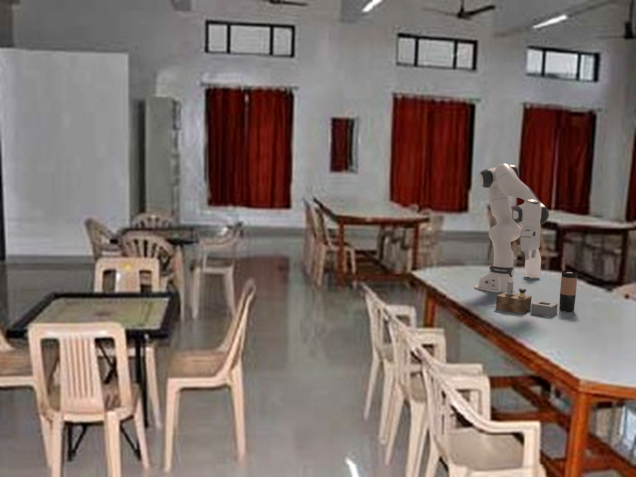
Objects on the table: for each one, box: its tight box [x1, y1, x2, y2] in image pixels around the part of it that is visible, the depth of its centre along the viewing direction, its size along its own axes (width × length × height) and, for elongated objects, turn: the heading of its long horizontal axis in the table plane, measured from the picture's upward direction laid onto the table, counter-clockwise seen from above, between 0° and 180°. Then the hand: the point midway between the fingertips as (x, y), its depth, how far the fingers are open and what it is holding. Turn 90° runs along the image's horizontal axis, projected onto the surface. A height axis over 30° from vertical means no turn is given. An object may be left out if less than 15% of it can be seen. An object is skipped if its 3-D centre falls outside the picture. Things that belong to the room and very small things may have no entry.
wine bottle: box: [523, 248, 542, 279], centre depth 452 cm, size 10×10×30 cm
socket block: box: [495, 292, 532, 314], centre depth 361 cm, size 14×12×7 cm
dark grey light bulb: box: [518, 288, 527, 298], centre depth 359 cm, size 4×4×8 cm
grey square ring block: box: [530, 300, 559, 318], centre depth 355 cm, size 10×10×5 cm
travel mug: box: [558, 270, 578, 313], centre depth 362 cm, size 8×8×20 cm
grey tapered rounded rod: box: [506, 280, 514, 296], centre depth 362 cm, size 3×3×14 cm
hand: (530, 258), depth 360 cm, fingers open, 8 cm apart
